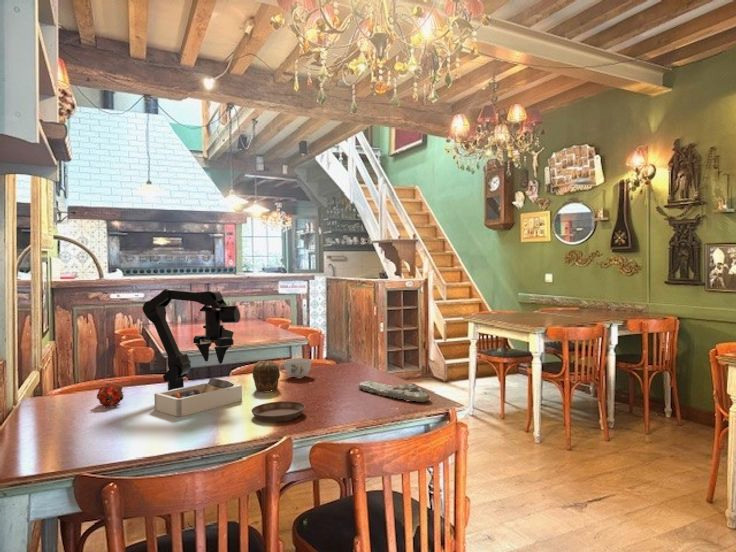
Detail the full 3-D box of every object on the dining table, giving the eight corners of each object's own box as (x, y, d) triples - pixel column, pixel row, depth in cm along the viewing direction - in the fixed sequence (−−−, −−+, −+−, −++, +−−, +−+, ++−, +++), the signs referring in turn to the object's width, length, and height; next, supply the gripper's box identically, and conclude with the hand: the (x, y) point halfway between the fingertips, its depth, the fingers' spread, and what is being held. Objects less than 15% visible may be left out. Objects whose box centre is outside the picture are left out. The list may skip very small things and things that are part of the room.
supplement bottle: (194, 398, 185) (162, 403, 177) (197, 385, 183) (165, 390, 175) (199, 408, 181) (168, 415, 174) (203, 396, 179) (170, 401, 171)
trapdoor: (205, 402, 191) (199, 399, 189) (215, 380, 194) (209, 377, 192) (224, 407, 183) (218, 404, 181) (234, 384, 187) (228, 381, 185)
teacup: (309, 373, 236) (309, 356, 236) (314, 379, 224) (314, 361, 224) (277, 376, 232) (277, 358, 232) (280, 381, 220) (280, 363, 220)
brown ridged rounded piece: (247, 392, 200) (247, 362, 200) (260, 386, 211) (259, 358, 211) (273, 394, 197) (272, 363, 197) (284, 387, 208) (283, 358, 208)
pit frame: (154, 409, 176) (154, 393, 176) (217, 394, 197) (217, 380, 197) (178, 417, 167) (178, 399, 167) (242, 400, 188) (241, 385, 188)
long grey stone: (370, 389, 209) (352, 395, 202) (368, 377, 209) (351, 382, 202) (436, 399, 185) (419, 406, 178) (435, 385, 185) (418, 391, 178)
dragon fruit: (114, 404, 190) (111, 417, 179) (93, 394, 187) (88, 406, 176) (128, 386, 191) (126, 398, 180) (108, 375, 188) (104, 386, 177)
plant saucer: (243, 424, 159) (243, 414, 159) (262, 408, 177) (262, 400, 177) (296, 425, 157) (296, 415, 157) (310, 410, 175) (310, 401, 175)
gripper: (244, 322, 196) (245, 361, 197) (216, 319, 208) (216, 357, 208) (220, 324, 188) (221, 366, 188) (192, 322, 199) (193, 361, 199)
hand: (213, 362), depth 196 cm, fingers open, 9 cm apart
